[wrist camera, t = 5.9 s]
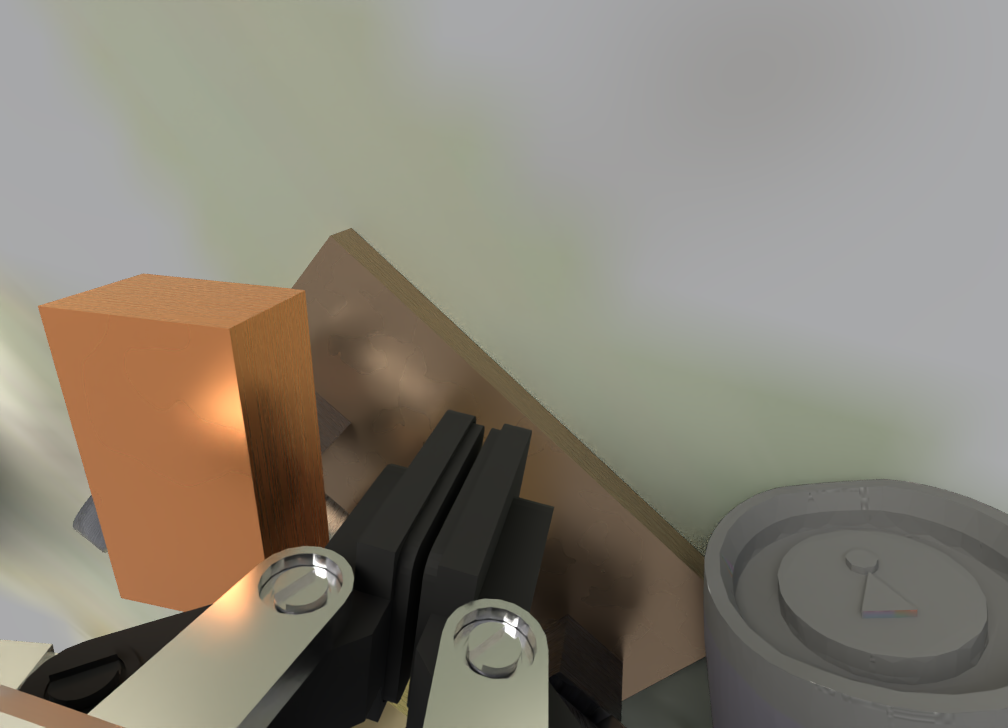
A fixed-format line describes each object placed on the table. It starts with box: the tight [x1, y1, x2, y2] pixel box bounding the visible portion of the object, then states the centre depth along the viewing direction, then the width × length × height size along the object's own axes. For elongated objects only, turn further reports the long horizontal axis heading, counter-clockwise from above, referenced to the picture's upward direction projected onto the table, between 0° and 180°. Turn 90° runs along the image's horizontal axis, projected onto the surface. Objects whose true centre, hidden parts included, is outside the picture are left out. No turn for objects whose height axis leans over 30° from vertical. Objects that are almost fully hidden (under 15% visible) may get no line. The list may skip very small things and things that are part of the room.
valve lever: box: [38, 274, 330, 612], centre depth 11 cm, size 14×3×2 cm, turn 178°
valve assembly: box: [73, 228, 706, 728], centre depth 19 cm, size 20×12×11 cm, turn 48°
